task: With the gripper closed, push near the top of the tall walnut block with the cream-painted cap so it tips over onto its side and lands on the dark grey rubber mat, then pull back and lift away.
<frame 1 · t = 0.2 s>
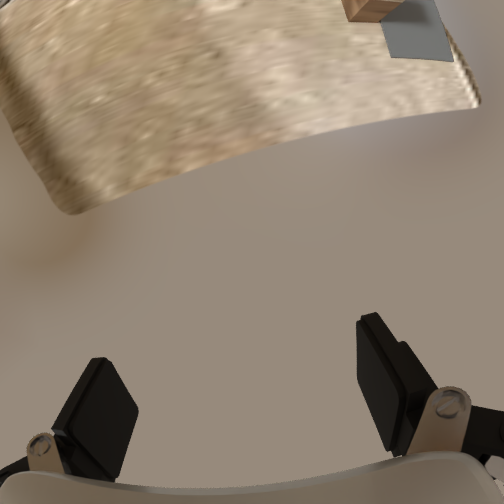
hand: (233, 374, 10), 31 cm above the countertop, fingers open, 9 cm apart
walnut block: (358, 9, 30), on the countertop
grey mat: (409, 13, 30), on the countertop
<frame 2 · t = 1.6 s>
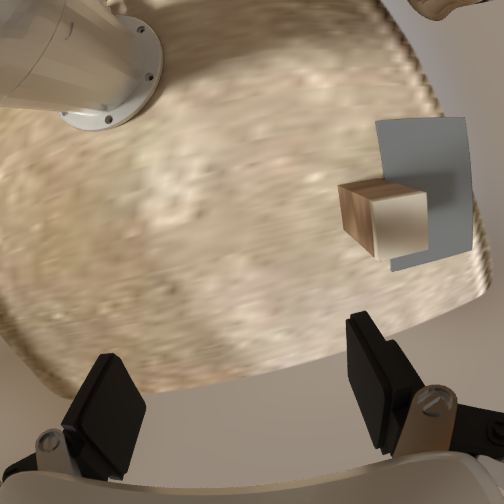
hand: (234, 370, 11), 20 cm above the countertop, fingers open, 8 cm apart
walnut block: (361, 203, 29), on the countertop
grey mat: (432, 191, 28), on the countertop
beer glass: (424, 0, 21), on the countertop
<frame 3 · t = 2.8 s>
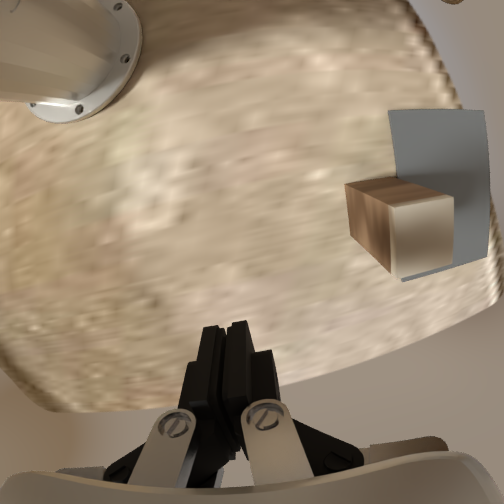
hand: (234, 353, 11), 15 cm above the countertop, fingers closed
walnut block: (371, 205, 25), on the countertop
grey mat: (449, 192, 24), on the countertop
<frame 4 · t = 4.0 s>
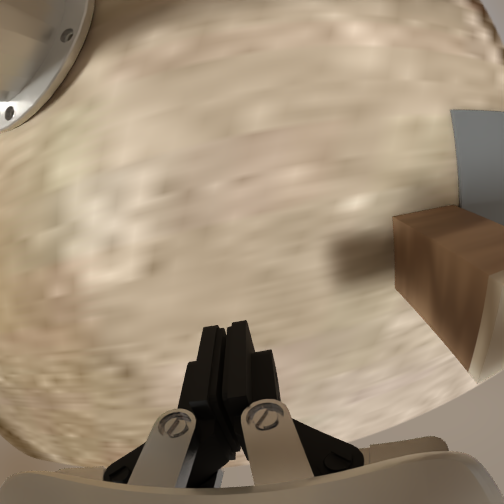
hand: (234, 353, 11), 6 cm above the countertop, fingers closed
walnut block: (425, 246, 16), on the countertop
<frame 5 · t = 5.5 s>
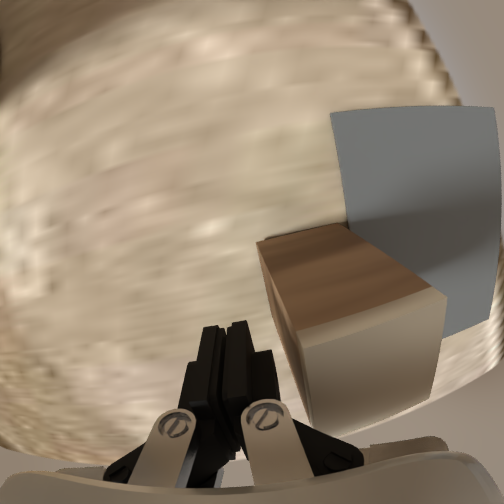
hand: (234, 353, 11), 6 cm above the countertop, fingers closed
walnut block: (304, 271, 17), on the countertop, tilted 5°
grey mat: (437, 238, 16), on the countertop
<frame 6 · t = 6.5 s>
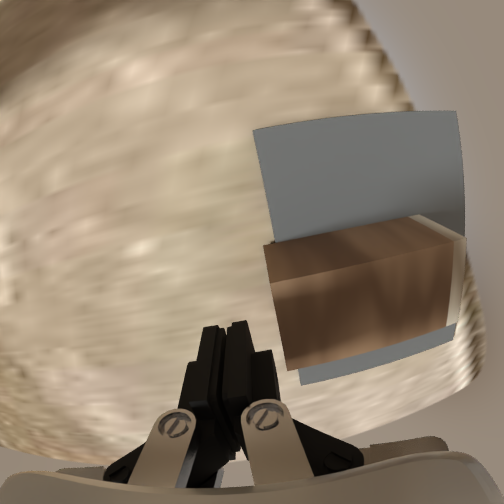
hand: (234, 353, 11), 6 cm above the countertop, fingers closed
walnut block: (274, 305, 14), point 3 cm above the countertop, tilted 90°, touching grey mat
grey mat: (383, 257, 16), on the countertop
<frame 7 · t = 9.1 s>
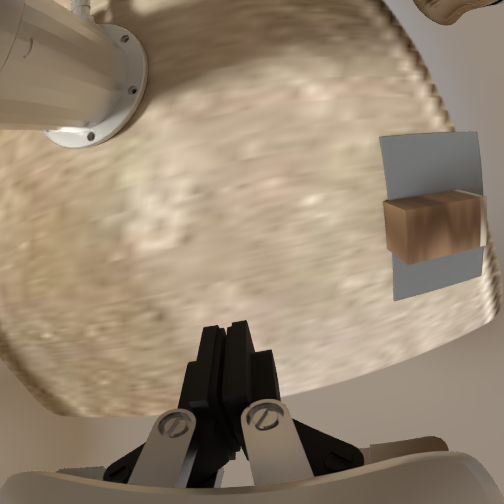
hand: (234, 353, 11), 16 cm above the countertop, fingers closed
walnut block: (395, 231, 24), point 3 cm above the countertop, tilted 90°, touching grey mat
grey mat: (441, 214, 26), on the countertop
beer glass: (433, 3, 19), on the countertop
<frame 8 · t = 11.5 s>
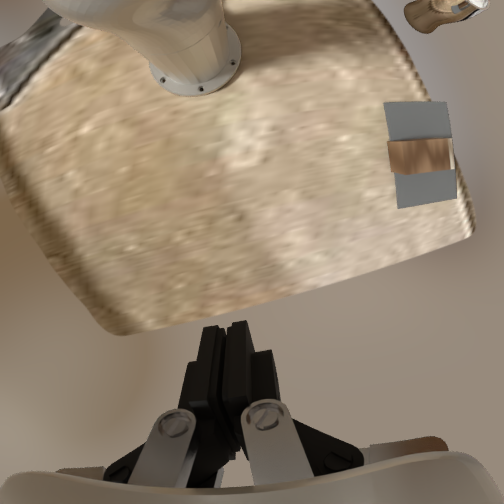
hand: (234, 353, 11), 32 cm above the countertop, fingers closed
walnut block: (396, 157, 37), point 3 cm above the countertop, tilted 90°, touching grey mat
grey mat: (424, 152, 39), on the countertop
beer glass: (418, 18, 32), on the countertop
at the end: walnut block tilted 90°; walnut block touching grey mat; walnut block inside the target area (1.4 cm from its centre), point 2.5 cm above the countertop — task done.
